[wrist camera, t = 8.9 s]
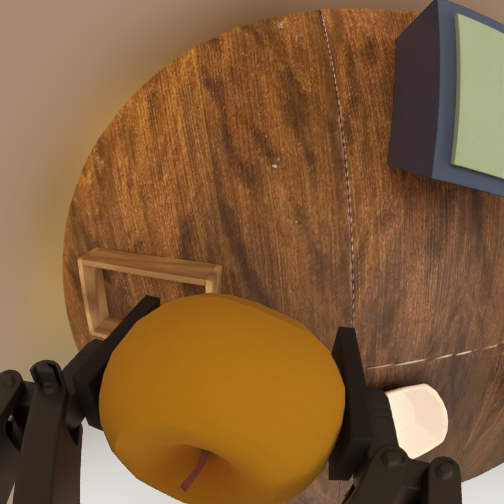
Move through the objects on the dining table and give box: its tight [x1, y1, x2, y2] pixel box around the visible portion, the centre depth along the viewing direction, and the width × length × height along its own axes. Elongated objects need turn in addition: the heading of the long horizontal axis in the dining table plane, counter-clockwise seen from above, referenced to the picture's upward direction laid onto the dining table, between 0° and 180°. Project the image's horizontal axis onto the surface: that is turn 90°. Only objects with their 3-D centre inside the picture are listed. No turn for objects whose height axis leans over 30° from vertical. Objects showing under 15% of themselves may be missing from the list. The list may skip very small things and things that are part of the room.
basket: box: [78, 247, 222, 339], centre depth 43 cm, size 13×20×5 cm, turn 86°
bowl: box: [384, 384, 448, 459], centre depth 44 cm, size 22×22×5 cm
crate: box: [387, 0, 504, 197], centre depth 24 cm, size 16×16×14 cm
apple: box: [99, 293, 345, 504], centre depth 11 cm, size 9×8×9 cm
